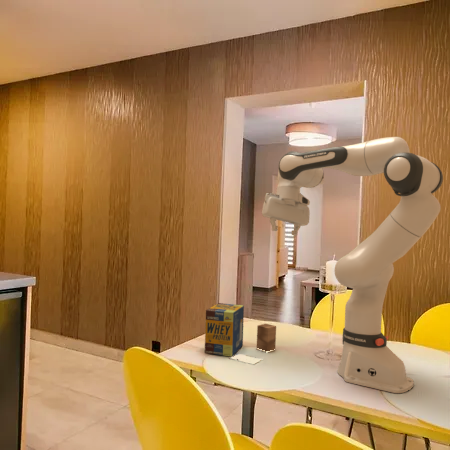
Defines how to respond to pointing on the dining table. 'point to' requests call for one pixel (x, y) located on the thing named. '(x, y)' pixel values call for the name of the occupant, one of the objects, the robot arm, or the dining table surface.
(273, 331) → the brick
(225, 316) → the protein box
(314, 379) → the dining table surface
